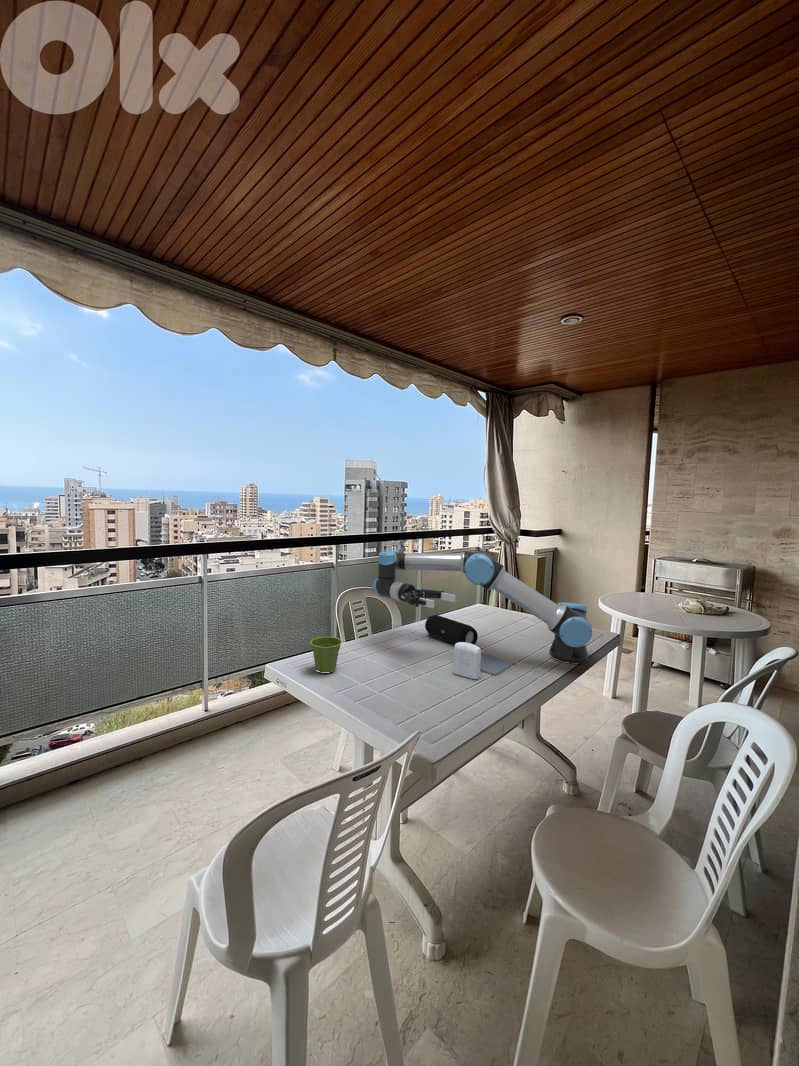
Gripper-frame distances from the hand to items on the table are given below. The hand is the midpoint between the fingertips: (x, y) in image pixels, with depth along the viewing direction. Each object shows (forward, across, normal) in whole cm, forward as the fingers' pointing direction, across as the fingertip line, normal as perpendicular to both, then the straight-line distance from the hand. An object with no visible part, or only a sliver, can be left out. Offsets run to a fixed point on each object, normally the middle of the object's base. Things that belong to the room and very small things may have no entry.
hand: (444, 601), depth 167 cm
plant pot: (-29, +34, -26) cm, 52 cm away
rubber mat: (+11, -15, -26) cm, 32 cm away
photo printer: (+11, 0, -26) cm, 28 cm away
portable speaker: (-16, -27, -26) cm, 41 cm away
